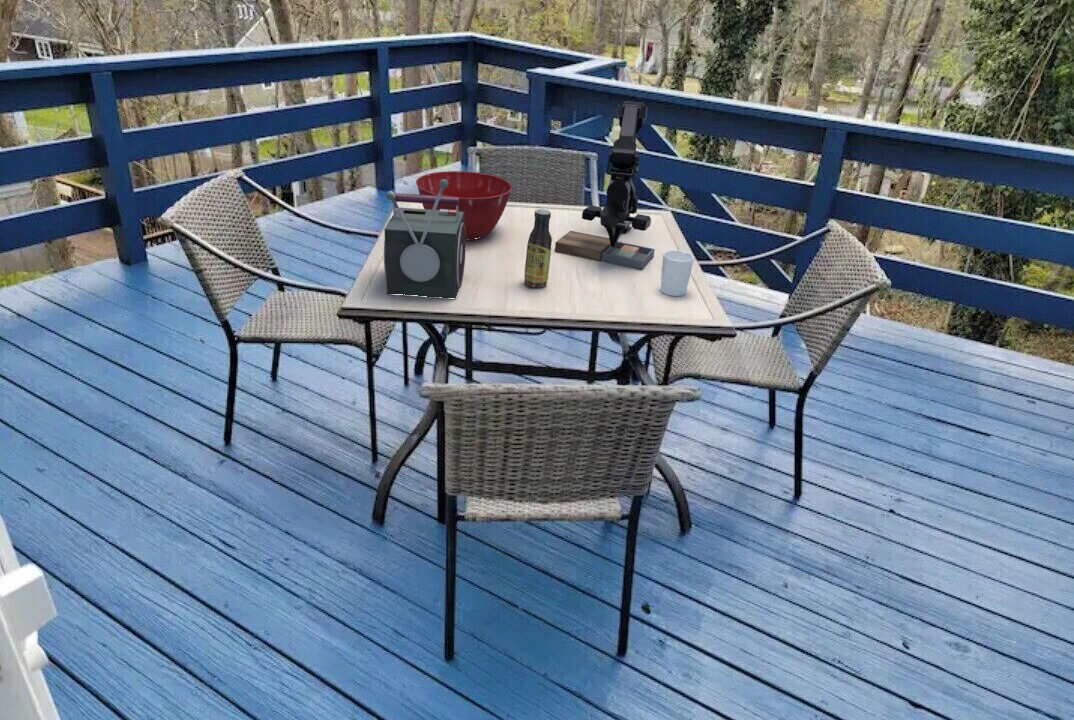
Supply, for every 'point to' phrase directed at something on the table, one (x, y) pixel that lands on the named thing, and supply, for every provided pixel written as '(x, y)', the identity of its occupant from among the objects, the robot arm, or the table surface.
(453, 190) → the mixing bowl
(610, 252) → the tray
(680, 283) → the white cup
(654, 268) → the table surface
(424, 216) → the boombox
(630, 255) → the sage tile
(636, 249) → the terracotta tile
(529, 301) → the table surface
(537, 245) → the sauce bottle
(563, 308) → the table surface
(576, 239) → the walnut board
